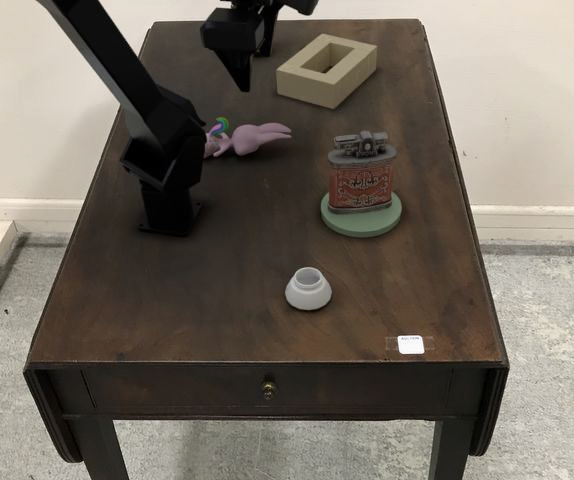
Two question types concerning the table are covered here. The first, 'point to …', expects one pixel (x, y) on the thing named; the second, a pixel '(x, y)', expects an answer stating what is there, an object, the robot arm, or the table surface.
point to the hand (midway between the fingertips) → (256, 73)
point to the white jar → (308, 289)
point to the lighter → (360, 174)
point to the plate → (363, 220)
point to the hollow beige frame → (317, 58)
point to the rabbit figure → (242, 137)
